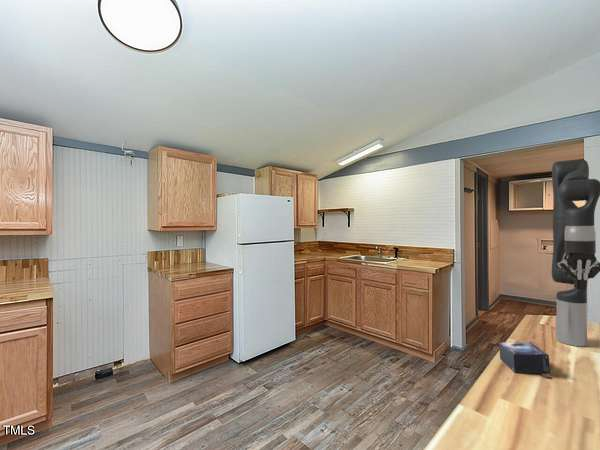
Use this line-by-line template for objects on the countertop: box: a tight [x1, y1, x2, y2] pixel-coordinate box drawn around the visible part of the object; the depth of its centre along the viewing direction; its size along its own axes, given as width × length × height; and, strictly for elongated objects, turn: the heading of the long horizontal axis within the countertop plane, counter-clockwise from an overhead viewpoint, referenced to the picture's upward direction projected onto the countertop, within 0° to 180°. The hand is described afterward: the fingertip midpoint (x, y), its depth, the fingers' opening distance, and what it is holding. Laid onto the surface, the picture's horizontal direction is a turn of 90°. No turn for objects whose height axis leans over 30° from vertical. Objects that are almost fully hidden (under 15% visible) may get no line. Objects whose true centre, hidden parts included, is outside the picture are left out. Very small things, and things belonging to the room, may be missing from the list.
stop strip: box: [539, 373, 552, 380], centre depth 99 cm, size 14×2×1 cm, turn 167°
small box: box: [498, 341, 551, 374], centre depth 99 cm, size 11×6×10 cm
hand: (580, 290), depth 98 cm, fingers closed
